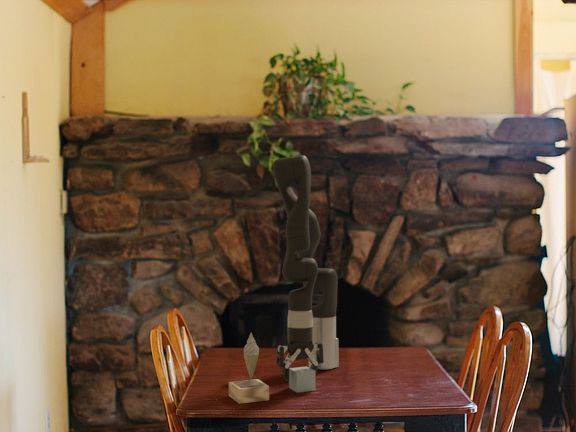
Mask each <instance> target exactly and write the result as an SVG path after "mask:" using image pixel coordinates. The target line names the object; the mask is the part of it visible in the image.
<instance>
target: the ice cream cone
mask: <svg viewBox="0 0 576 432" xmlns="http://www.w3.org/2000/svg"><path fill="white" fill-rule="evenodd" d="M259 353H260V347H259V346H258V345H257V343H256V340H255V338H254V336H253V333H252V332H250V334H249V336H248V339H247V340H246V344H245V345H244V348H243V353H242V356H243V357H244V362H245V365H246V368H247V369H246V370H247V372H248V375H249V378H250V379H249V380H253V377H254V375H255V370H256V367H257V363H258V358H259V355H260V354H259Z"/></svg>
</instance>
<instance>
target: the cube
mask: <svg viewBox="0 0 576 432" xmlns="http://www.w3.org/2000/svg"><path fill="white" fill-rule="evenodd" d="M288 388H289V389H290V390H292V391H293V392H294V393H295V392H296V393H304V392H314V391H316V389H317V388H316V378H315V370H313V369H311V368H310V367H309V366H299V367H298V366H297V367H289V381H288Z"/></svg>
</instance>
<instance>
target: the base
mask: <svg viewBox="0 0 576 432" xmlns="http://www.w3.org/2000/svg"><path fill="white" fill-rule="evenodd" d="M228 396H229V397H230V398H231V399H233V400H234V401H235V402H236V403H237V404H239V405H240V404H247V403H256V402H263V401H270V386H269V385H268V384H266V383H265V382H263V381H262V380H261V379H259V378H254V379H252V380H250V379H245V380H236V381H235V380H234V381H228Z"/></svg>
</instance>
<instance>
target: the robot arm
mask: <svg viewBox="0 0 576 432" xmlns="http://www.w3.org/2000/svg"><path fill="white" fill-rule="evenodd" d="M311 169H312V168H311V165H310V162H309V159H308V157H307V156H306V155H304V154H302V155H301V154H300V155H293V156H287V157H280V158H277V159H275V160H274V162H273V165H272V171H273V176H274V179H275V183H276V186H277V189H278V192H279V194H280V197H281V199H282V202H283V205H284V209H285V212H286V217H287V219H286V224H285V233H286V235H285V236H286V251H285V257H284V261H283V265H282V271H281V272H282V273H281V274H282V277H283V278H284V279H285V281H286V282H289V283H298V282H300V283H301V282H302V284H303V286H301V287H300V288H297V289H293V290H290V291H289V292H288V302H287V303H288V304H287V305H288V311H287V312H288V313H287V344H286V345H280V344H279V345H277V348H276V362H275V363H276V366H279V368H282V378H283V379H284V381H286V382H289V368H290V366H291V365H292V363H294V361H295V360H296V361H298V360H308V367H309V368H311V369H313V370H315V379H316V378H317V376H318V370H332V369H334V368H339V367H340V366H339V354H340V353H339V338H337V309H338V308H337V307H338V286H339V285H338V284H339V279H338V274H337V271H336V270H335V269H333V268H329V267H327V268H326V267H321V268H320V267H319V266H318V262H317V261H316V259H315V258H313V257H314V254H315V252H316V251H317V247H319V246H318V245H319V244H320V240H321V236H322V235H321V234H322V233H321V230H320V224H319V220H318V218H317V216H316V214H315V212H313V210H311V209H310V202H311V185H312V171H311ZM298 186H299V190H298V195H296V194H295V192H294V190H293V188H292V187H298ZM296 254H297V257H296V258H295V255H296ZM313 296H318V297H320V296H321V297H322V301H321V302H320V303H318V304H315V305H313ZM286 351H287V352H288V354H287V355H286V357H284V355H285V353H286Z"/></svg>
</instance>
